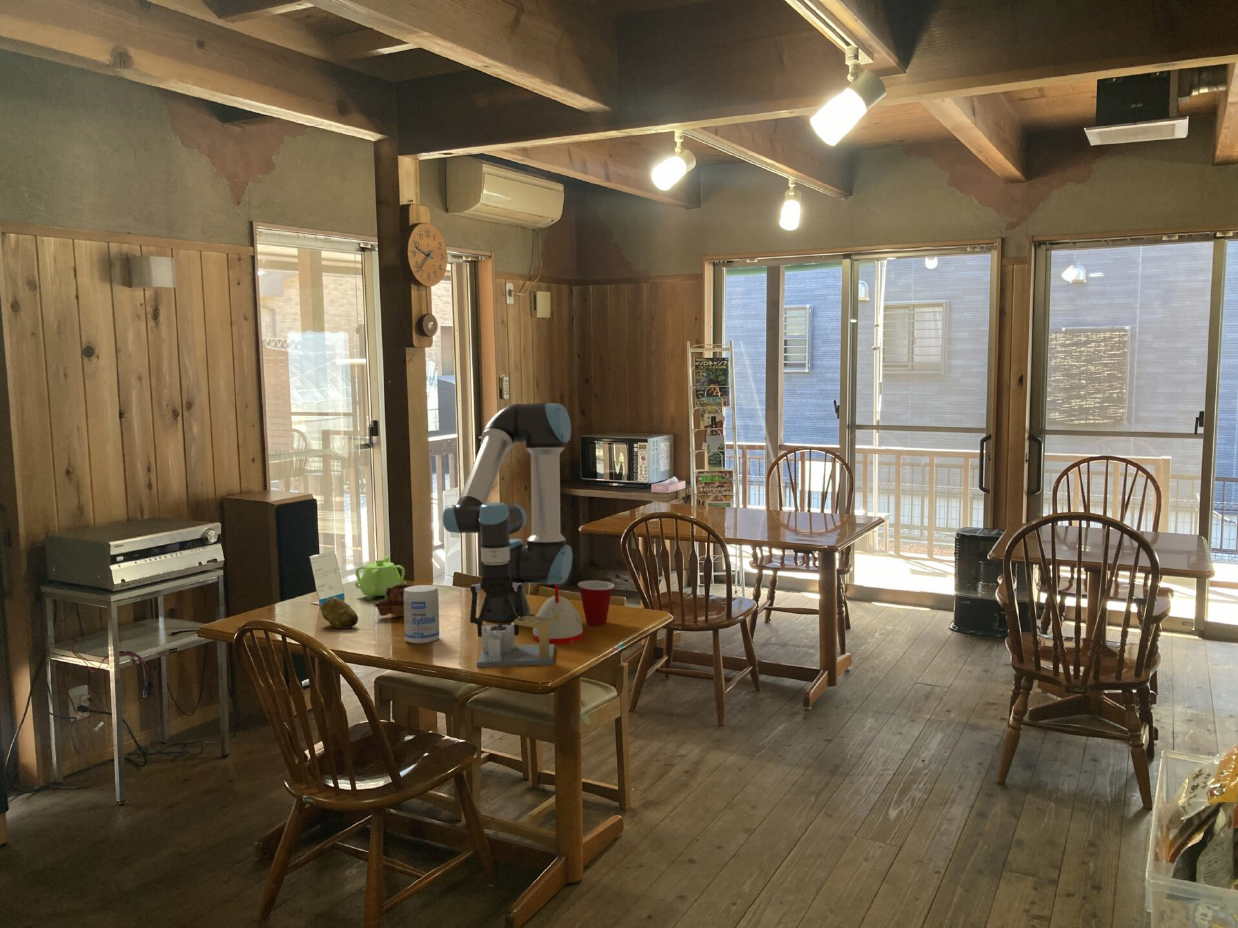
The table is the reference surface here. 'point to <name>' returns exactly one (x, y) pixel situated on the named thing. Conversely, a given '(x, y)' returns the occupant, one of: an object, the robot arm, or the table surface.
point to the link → (497, 642)
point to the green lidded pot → (379, 578)
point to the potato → (339, 613)
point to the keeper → (543, 631)
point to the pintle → (498, 627)
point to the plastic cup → (595, 601)
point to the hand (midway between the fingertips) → (499, 647)
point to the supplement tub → (421, 614)
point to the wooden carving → (393, 601)
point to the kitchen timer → (560, 620)
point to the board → (518, 657)
